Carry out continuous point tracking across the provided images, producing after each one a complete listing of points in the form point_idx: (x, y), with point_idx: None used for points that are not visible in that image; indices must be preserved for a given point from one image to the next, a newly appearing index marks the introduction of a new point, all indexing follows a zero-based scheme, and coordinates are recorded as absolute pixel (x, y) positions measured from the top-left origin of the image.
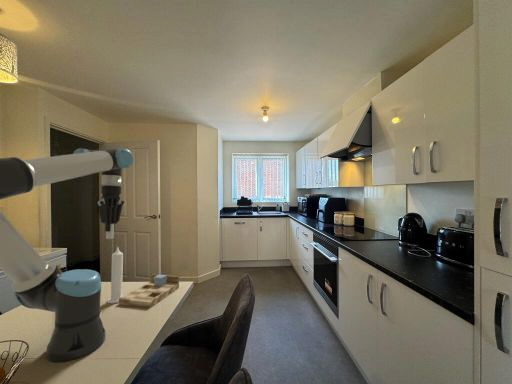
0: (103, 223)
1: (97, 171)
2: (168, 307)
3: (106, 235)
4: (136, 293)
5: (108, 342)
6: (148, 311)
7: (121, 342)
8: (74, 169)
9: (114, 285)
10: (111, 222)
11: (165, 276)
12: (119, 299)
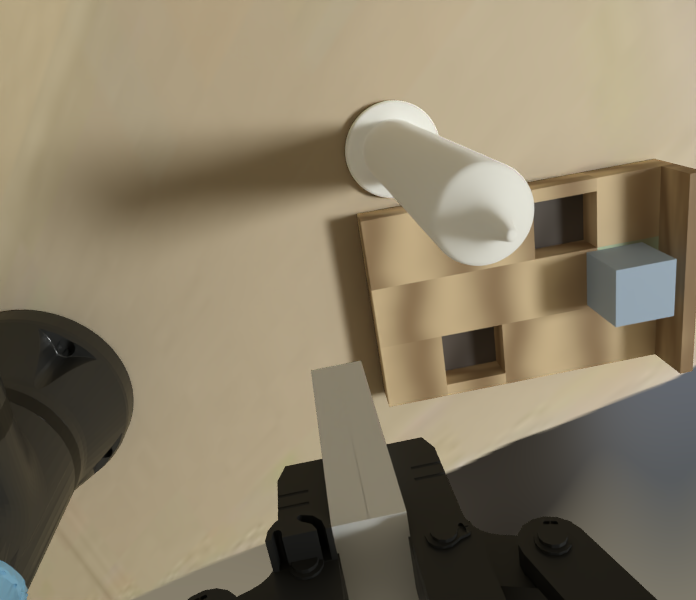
0: (274, 528)
1: None
2: None
3: (315, 404)
4: None
5: (114, 467)
6: None
7: (138, 504)
8: None
9: (382, 182)
10: (416, 584)
11: (654, 317)
12: (361, 225)
